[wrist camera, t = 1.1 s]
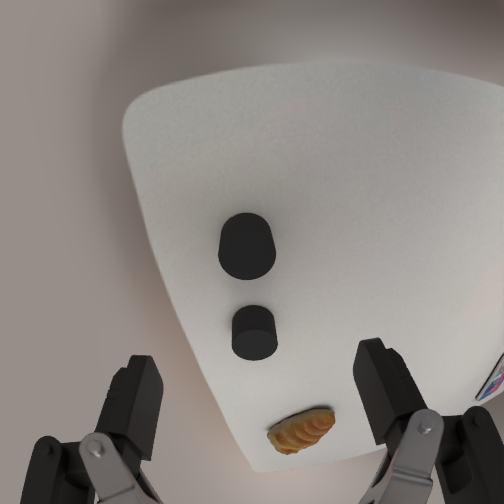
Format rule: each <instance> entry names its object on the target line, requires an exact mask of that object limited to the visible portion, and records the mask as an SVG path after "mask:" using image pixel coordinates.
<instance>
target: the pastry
mask: <svg viewBox="0 0 504 504" xmlns="http://www.w3.org/2000/svg"><path fill="white" fill-rule="evenodd" d="M334 414H335V413H334V411H331V410H325V409H314V410H313V409H312V410H310V411H309V410H308V411H305V412H304V413H302V414H297V415H295V416H293V417H291V418H288V419H286V420H284V421H282V422H281V423H279V424H276V425H274V426H273V427H272V428H271V429H270V431H269V432H268V433H267V437H268V439H269V440H270V442H271V444H272V445H273V446H274V447H275V449H276V450H277V451H278V452H280V453H282V454H286V455H288V454H292V453H297V452H298V451H299V450H301V449H305V448H307V447H309V446H312V445H314V444H316V443H317V442H318V441H319V439H320V438H321V437H322V436H323V435H324V434H326V433H327V432H328V431H329V430H330V428H332V426H333V424H334V423H335V416H334Z"/></svg>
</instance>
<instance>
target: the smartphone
mask: <svg viewBox="0 0 504 504" xmlns="http://www.w3.org/2000/svg"><path fill="white" fill-rule="evenodd" d="M503 380H504V355H503V357H502V358H501V360H500V362H499V363H498V365H497V367H496V368H495V370H494V372H493V373H492V375H491V377H490V378H489V380H488V381H487V383H486V385H485V386H484V388H483V389H482V391H481V392H480V394H479V395H478V397H477V398H476V401H480V400H482V399H483V398H485V397H487V396H488V395H490V394H491V393H493V392H494V391H496V390H497V389H498V388H499V386H500V385H501V383H502V382H503Z"/></svg>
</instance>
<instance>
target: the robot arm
mask: <svg viewBox="0 0 504 504" xmlns="http://www.w3.org/2000/svg"><path fill="white" fill-rule="evenodd" d="M353 376H354V380H355V383H356V386H357V389H358V391H359V394H360V397H361V400H362V403H363V406H364V409H365V412H366V415H367V418H368V421H369V424H370V427H371V430H372V433H373V436H374V439H375V442H376V446H377V445H380V444H384V443H386V446H387V451H386V453H385V455H384V457H383V459H382V462H381V464H380V466H379V468H378V471H377V472H376V475H375V477H374V478H373V481H372V482H371V485H370V486H369V488H368V490H367V491H366V493H365V494H364V496H363V497H362V498H361V500H360V502H359V503H358V504H426V503H427V500H428V498H429V495H430V493H431V490H432V486H433V480H432V479H431V478H430V476H431V472H432V469H433V466H434V464H435V468H436V471H437V474H438V478H439V482H440V485H441V489H442V493H443V497H444V501H445V504H504V445H503V442H502V441H501V437H500V435H499V433H498V431H497V428H496V426H495V424H494V422H493V419H492V418H491V415H490V413H489V412H488V411H487V410H486V409H485V408H483V407H480V406H473V407H471V408H469V409H468V410H467V411H466V412H465V413H464V414H463V415H455V416H440V414H439V413H437V412H436V411H434V410H431V409H429V408H428V407H427V406H426V404H425V402H424V400H423V398H422V396H421V394H420V392H419V390H418V387H417V385H416V384H415V382H414V380H413V378H412V376H411V374H410V372H409V370H408V368H407V367H406V364H405V362H404V360H403V358H402V357H401V355H400V354H398V353H397V352H396V351H395V350H394V349H393V348H389V349H386V348H385V346H384V344H383V342H382V341H381V339H380V338H372V339H367V340H361V341H360V342H359V345H358V349H357V353H356V357H355V361H354V365H353ZM162 396H163V381H162V378H161V376H160V374H159V371H158V369H157V367H156V365H155V362H154V360H153V358H152V357H151V356H146V355H132V356H131V358H130V360H129V363H128V366H127V368H123V367H122V368H120V369H119V371H118V372H117V373H116V374H115V375H114V376H113V379H112V382H111V385H110V390H108V393H107V398H106V399H105V402H104V405H103V408H102V411H101V414H100V417H99V420H98V423H97V426H96V429H95V431H94V433H90V434H88V435H87V436H85V437H84V438H83V439H82V441H80V442H70V443H60V442H59V441H58V440H57V439H56V438H54V437H52V436H44V437H42V438H40V439H39V440H38V441H37V442H36V444H35V446H34V449H33V452H32V456H31V460H30V463H29V467H28V470H27V474H26V479H25V483H24V487H23V491H22V496H21V502H20V504H94V498H95V491H96V492H97V495H98V497H99V501H98V502H97V504H164V503H163V502H162V500H161V499H160V497H159V496H158V495H157V493H156V492H155V490H154V489H153V487H152V486H151V484H150V482H149V481H148V479H147V478H146V476H145V474H144V473H143V471H142V470H141V468H140V464H141V460H147V461H151V456H152V449H153V444H154V438H155V433H156V427H157V421H158V417H159V411H160V406H161V401H162Z"/></svg>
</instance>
